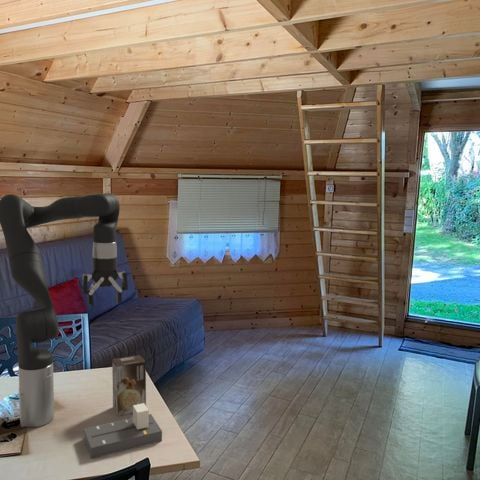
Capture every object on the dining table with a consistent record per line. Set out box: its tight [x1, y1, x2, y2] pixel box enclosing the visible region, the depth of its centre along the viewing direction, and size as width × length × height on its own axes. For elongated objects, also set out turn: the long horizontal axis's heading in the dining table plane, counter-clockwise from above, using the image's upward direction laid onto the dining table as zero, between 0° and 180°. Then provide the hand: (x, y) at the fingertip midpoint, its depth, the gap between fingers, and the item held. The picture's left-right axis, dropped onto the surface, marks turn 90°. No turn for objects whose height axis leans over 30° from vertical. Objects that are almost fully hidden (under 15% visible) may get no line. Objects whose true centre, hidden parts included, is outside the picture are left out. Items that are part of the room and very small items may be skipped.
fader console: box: [83, 413, 163, 460], centre depth 129 cm, size 19×10×3 cm, turn 118°
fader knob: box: [132, 403, 150, 430], centre depth 131 cm, size 3×4×5 cm
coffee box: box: [111, 354, 147, 417], centre depth 145 cm, size 9×6×16 cm
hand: (105, 304), depth 153 cm, fingers open, 8 cm apart
